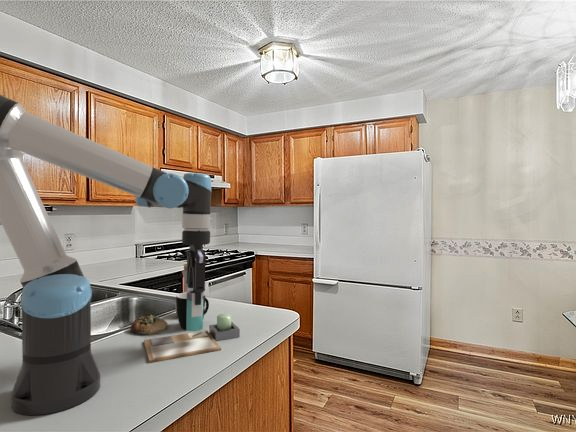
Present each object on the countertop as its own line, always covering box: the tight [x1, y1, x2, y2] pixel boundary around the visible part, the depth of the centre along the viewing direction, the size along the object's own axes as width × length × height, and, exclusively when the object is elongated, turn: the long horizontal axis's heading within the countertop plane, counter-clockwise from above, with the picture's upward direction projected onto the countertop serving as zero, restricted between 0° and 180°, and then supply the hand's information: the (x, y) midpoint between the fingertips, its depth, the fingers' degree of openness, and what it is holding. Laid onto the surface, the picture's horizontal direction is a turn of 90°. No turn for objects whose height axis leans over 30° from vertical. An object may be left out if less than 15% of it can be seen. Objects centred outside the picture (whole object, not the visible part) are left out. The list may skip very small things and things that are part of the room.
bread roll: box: [130, 314, 168, 336], centre depth 111 cm, size 11×11×5 cm
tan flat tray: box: [143, 329, 222, 364], centre depth 98 cm, size 18×15×1 cm
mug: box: [175, 292, 210, 330], centre depth 115 cm, size 12×9×10 cm
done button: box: [216, 313, 232, 331], centre depth 106 cm, size 4×4×4 cm
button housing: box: [208, 321, 241, 342], centre depth 106 cm, size 7×7×2 cm
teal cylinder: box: [185, 291, 205, 332], centre depth 99 cm, size 4×4×10 cm
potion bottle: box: [174, 263, 189, 314], centre depth 126 cm, size 9×9×18 cm
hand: (194, 313), depth 99 cm, fingers closed on teal cylinder, 4 cm apart
